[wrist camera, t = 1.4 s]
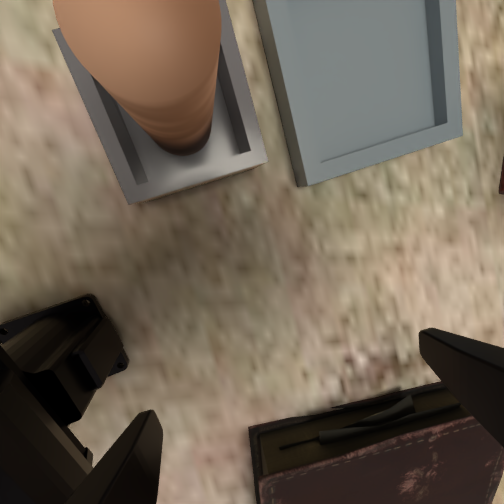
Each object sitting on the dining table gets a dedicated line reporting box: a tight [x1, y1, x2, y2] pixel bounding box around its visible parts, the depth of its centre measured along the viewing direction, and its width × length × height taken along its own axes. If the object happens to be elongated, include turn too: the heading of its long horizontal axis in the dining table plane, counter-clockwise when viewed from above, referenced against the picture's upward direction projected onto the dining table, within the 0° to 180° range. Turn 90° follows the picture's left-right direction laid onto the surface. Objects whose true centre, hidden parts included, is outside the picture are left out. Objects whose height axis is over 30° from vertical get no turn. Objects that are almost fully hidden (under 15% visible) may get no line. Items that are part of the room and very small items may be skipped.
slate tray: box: [253, 0, 463, 187], centre depth 17 cm, size 12×12×2 cm
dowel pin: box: [53, 0, 221, 156], centre depth 11 cm, size 4×4×10 cm
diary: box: [248, 381, 504, 504], centre depth 25 cm, size 19×25×5 cm
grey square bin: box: [52, 0, 268, 204], centre depth 14 cm, size 8×8×4 cm
